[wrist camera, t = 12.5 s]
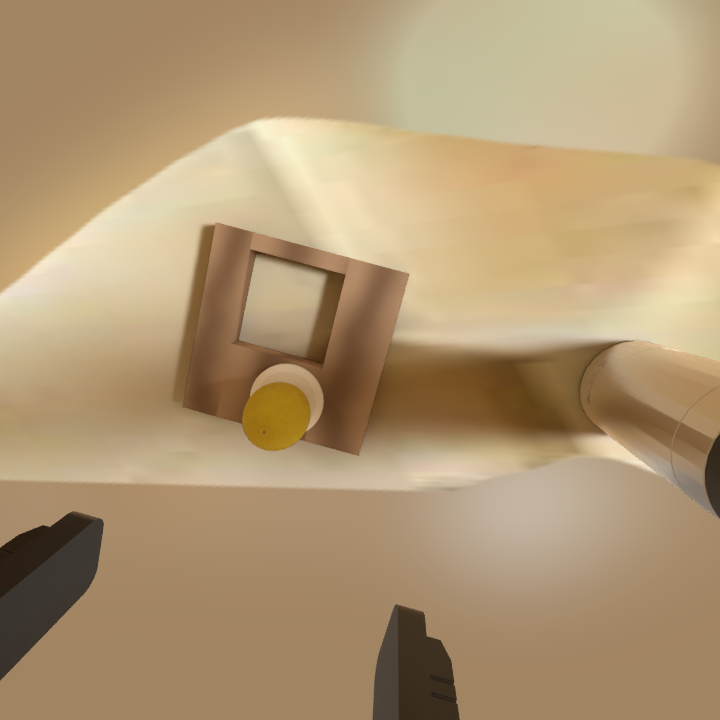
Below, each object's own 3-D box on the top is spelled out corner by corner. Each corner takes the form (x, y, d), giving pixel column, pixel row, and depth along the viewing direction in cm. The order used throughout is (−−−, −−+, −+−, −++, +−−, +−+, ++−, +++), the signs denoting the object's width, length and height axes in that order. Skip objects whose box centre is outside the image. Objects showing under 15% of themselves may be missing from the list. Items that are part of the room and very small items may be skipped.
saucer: (331, 373, 41) (330, 376, 40) (314, 441, 43) (313, 444, 42) (260, 354, 41) (257, 356, 41) (246, 422, 43) (243, 425, 42)
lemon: (270, 435, 42) (241, 472, 34) (252, 381, 41) (218, 406, 33) (325, 422, 41) (308, 457, 34) (308, 366, 40) (287, 389, 33)
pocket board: (408, 273, 41) (409, 274, 39) (360, 447, 45) (358, 455, 43) (224, 224, 41) (215, 222, 39) (191, 401, 45) (182, 406, 43)
